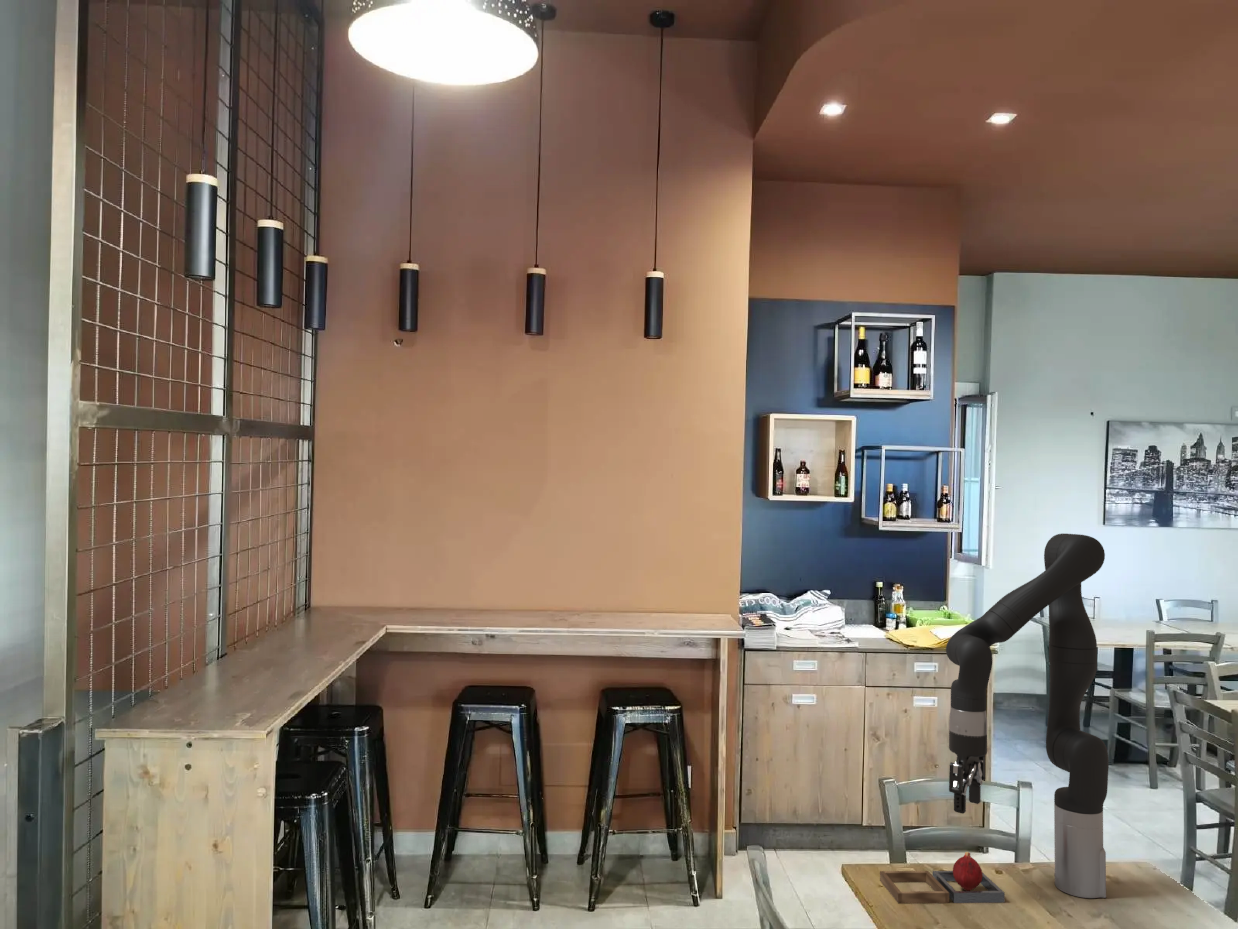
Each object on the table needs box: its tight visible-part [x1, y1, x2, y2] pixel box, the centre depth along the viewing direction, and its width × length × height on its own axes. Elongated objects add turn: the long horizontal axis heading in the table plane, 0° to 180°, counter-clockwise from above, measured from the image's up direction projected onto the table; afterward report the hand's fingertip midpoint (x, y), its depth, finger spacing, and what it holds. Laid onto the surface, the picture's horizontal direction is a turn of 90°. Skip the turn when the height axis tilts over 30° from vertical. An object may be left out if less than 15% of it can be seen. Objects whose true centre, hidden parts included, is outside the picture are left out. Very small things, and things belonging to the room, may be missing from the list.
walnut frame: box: [879, 870, 950, 904], centre depth 182 cm, size 11×11×2 cm
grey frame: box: [932, 870, 1006, 904], centre depth 183 cm, size 11×11×2 cm
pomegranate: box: [952, 851, 983, 891], centre depth 183 cm, size 6×6×8 cm
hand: (967, 807), depth 184 cm, fingers open, 8 cm apart
